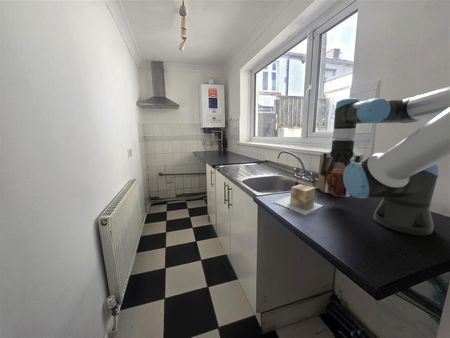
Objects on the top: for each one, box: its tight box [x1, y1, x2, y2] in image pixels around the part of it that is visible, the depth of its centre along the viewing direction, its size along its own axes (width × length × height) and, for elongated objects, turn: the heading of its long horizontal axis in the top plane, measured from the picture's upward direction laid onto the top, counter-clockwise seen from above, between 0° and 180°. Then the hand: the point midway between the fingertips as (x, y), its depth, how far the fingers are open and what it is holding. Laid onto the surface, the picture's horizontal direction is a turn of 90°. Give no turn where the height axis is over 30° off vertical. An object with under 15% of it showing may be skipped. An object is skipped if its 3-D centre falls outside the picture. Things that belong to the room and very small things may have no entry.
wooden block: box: [316, 153, 346, 195], centre depth 98 cm, size 10×10×20 cm
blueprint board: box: [273, 195, 324, 216], centre depth 83 cm, size 16×14×1 cm
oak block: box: [290, 184, 316, 209], centre depth 81 cm, size 7×7×8 cm
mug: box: [326, 169, 346, 197], centre depth 78 cm, size 12×9×10 cm
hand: (337, 193), depth 79 cm, fingers closed on mug, 7 cm apart
